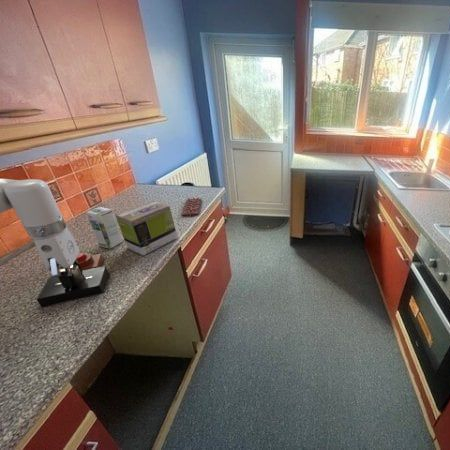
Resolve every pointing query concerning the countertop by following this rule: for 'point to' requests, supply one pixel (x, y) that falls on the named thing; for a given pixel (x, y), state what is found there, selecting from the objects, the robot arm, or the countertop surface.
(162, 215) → the tea box
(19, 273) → the countertop surface
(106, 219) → the syrup box
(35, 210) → the robot arm
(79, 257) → the button
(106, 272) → the panel
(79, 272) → the hob knob
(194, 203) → the chocolate bar
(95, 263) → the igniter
